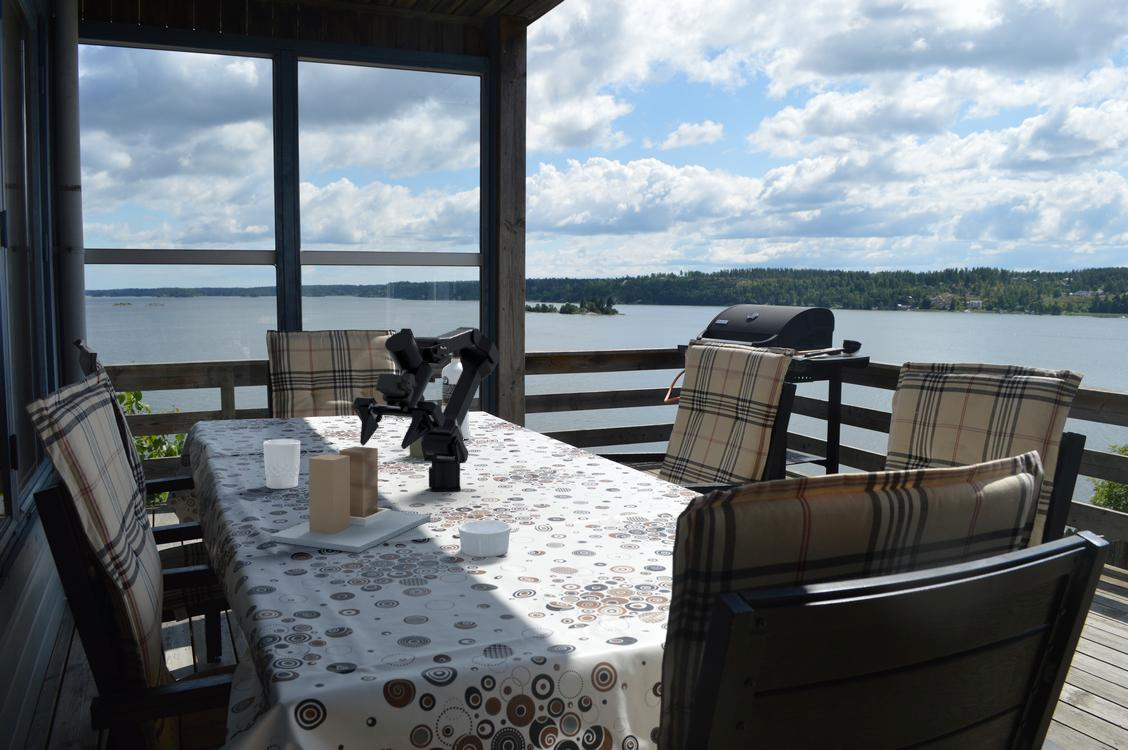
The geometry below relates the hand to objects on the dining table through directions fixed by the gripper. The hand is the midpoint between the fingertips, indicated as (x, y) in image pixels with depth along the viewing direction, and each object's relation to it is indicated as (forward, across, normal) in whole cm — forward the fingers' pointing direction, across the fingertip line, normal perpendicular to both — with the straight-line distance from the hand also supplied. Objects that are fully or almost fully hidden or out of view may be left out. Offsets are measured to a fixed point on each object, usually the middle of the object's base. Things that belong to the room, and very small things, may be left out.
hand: (382, 445), depth 171 cm
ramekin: (+20, +29, -1) cm, 36 cm away
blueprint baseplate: (+18, +2, +1) cm, 18 cm away
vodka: (-55, -32, +74) cm, 97 cm away
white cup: (0, -34, +19) cm, 39 cm away
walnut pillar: (+14, 0, +3) cm, 15 cm away
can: (-34, -23, +53) cm, 67 cm away
